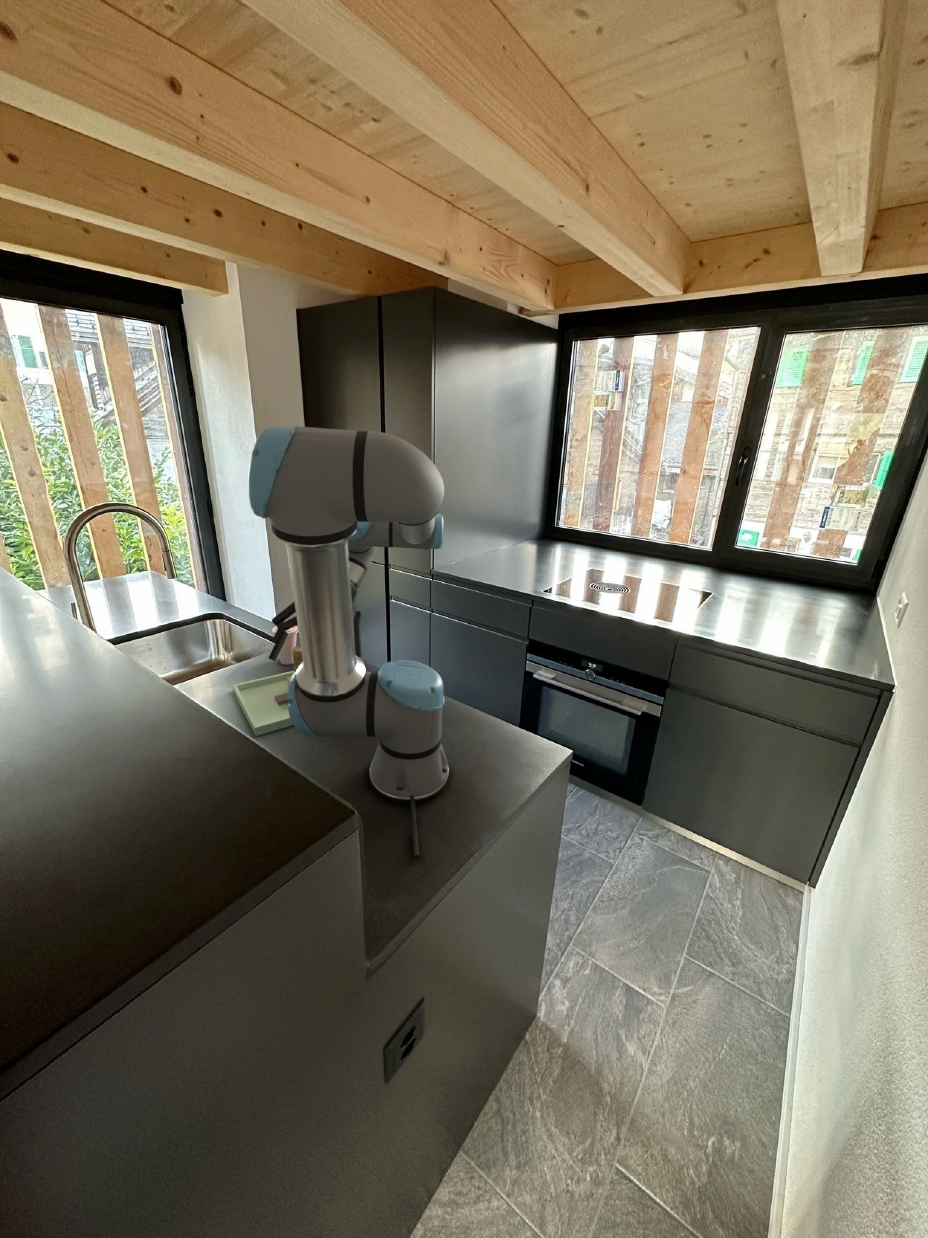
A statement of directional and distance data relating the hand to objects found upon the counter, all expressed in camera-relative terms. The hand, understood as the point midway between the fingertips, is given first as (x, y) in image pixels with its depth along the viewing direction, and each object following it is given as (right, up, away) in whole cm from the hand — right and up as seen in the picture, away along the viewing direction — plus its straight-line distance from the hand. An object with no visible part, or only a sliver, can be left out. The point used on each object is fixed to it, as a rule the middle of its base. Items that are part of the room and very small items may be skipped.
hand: (301, 671), depth 109 cm
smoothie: (-13, 0, +29) cm, 32 cm away
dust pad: (-8, -8, +11) cm, 16 cm away
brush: (-4, -7, +14) cm, 16 cm away
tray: (-8, -9, +11) cm, 16 cm away
